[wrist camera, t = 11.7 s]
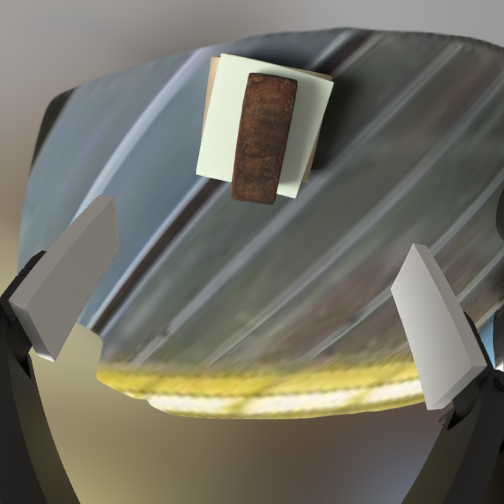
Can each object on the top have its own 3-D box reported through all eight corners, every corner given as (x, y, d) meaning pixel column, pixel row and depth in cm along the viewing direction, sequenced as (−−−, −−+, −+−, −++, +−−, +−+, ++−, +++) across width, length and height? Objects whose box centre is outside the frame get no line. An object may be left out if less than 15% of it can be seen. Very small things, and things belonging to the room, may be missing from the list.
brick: (275, 185, 30) (275, 208, 26) (234, 179, 30) (228, 200, 26) (296, 78, 24) (301, 82, 20) (250, 70, 23) (246, 73, 20)
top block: (326, 79, 27) (333, 82, 23) (293, 182, 34) (295, 198, 30) (227, 53, 26) (221, 53, 23) (203, 160, 33) (195, 174, 30)
